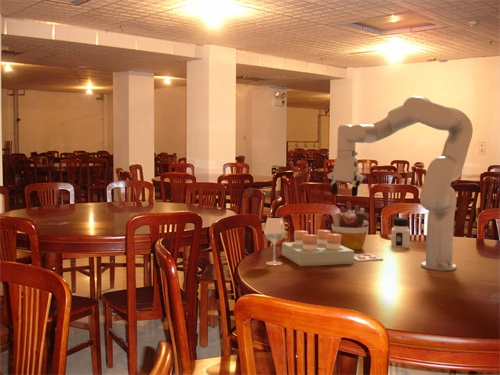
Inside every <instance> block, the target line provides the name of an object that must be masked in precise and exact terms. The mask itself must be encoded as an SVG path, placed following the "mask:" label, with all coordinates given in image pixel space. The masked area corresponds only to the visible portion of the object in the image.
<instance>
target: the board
mask: <svg viewBox="0 0 500 375" xmlns="http://www.w3.org/2000/svg"><path fill="white" fill-rule="evenodd" d="M354 254H355V250H351V249H349V248H346V247H344V246H342V245H340V250H328V249H327V245H324V246H319V245H317V251H304V250H303V246H297V247H296V246H294V242H293V241H291V242H282V243H281V255H282V256H284V257H285V258H287V259H288V260H290V261H291V262H293V263H295V264H297V265H298V266H299V267H307V266H308V267H309V266H311V267H312V266H313V267H314V266H331V265H332V266H333V265H352V264H355V260H354Z"/></svg>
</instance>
